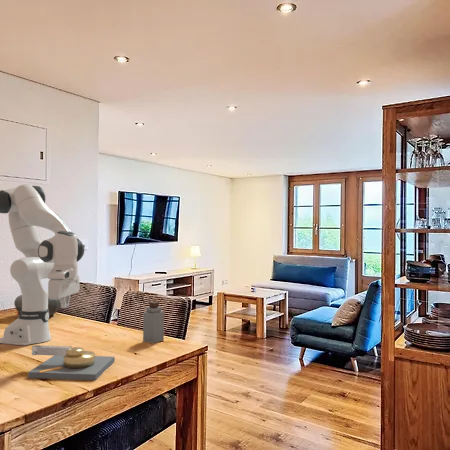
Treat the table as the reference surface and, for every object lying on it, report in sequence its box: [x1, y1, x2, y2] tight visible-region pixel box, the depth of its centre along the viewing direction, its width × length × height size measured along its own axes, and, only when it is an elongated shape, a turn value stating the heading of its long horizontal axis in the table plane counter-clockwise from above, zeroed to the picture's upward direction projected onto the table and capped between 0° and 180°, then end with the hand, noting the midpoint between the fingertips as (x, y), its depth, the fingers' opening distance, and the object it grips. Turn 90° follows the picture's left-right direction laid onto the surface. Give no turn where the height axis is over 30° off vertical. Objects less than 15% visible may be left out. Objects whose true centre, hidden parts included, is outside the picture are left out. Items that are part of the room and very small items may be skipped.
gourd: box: [13, 294, 61, 317], centre depth 242 cm, size 25×25×17 cm
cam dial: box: [31, 344, 96, 368], centre depth 152 cm, size 24×11×6 cm, turn 87°
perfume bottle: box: [142, 301, 165, 344], centre depth 193 cm, size 7×7×18 cm
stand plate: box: [27, 355, 115, 381], centre depth 152 cm, size 24×20×2 cm
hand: (64, 307), depth 161 cm, fingers closed
